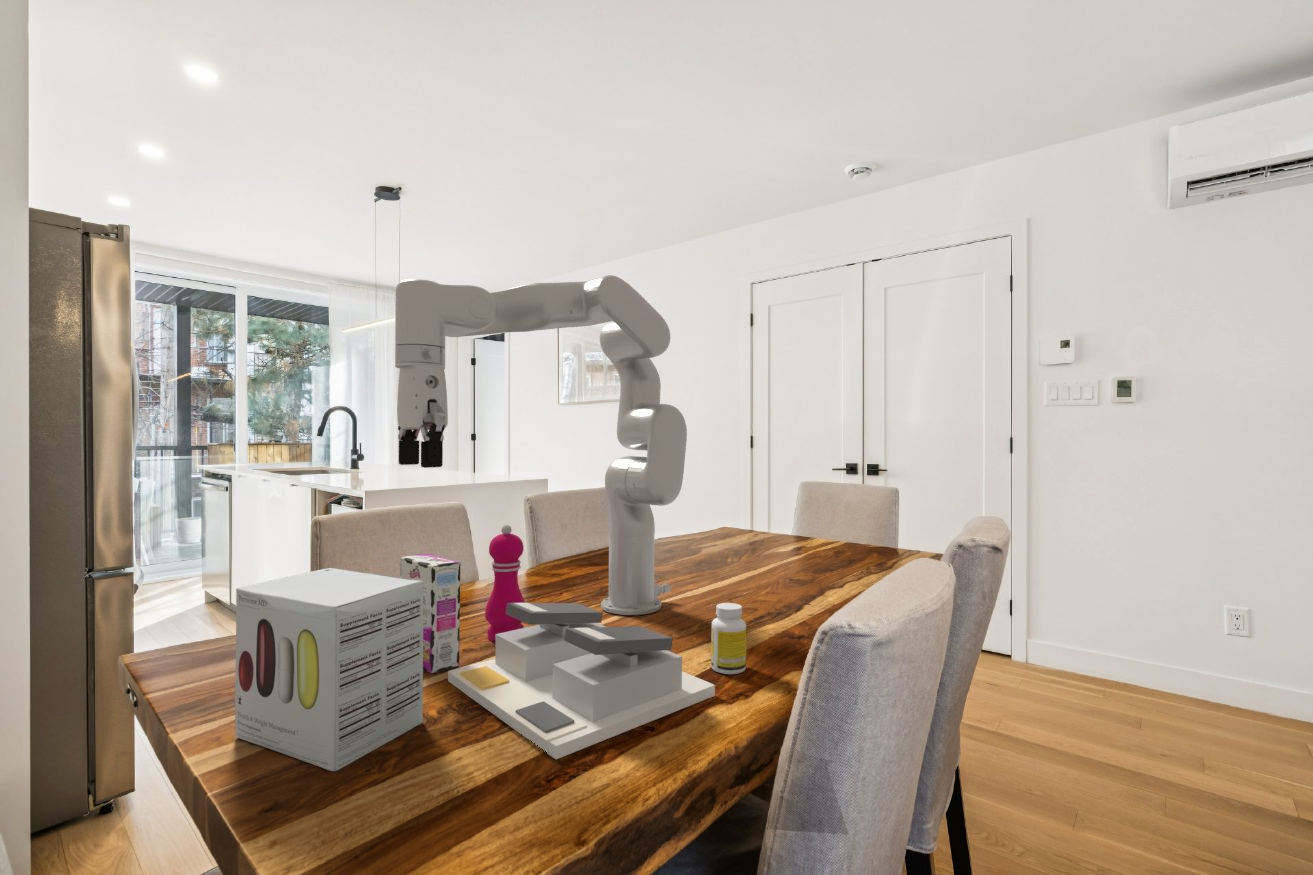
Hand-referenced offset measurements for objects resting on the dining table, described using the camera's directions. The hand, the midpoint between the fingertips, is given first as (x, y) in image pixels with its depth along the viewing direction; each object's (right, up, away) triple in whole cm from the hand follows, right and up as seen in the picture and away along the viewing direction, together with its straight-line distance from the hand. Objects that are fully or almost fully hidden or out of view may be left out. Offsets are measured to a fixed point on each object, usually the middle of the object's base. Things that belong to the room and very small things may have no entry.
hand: (419, 465), depth 100 cm
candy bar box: (+2, -31, -1) cm, 31 cm away
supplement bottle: (+49, -32, -3) cm, 59 cm away
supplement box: (-2, -32, -24) cm, 40 cm away
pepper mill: (+11, -31, +11) cm, 35 cm away
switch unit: (+27, -31, -11) cm, 43 cm away
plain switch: (+33, -23, -16) cm, 44 cm away
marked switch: (+22, -23, -4) cm, 32 cm away
